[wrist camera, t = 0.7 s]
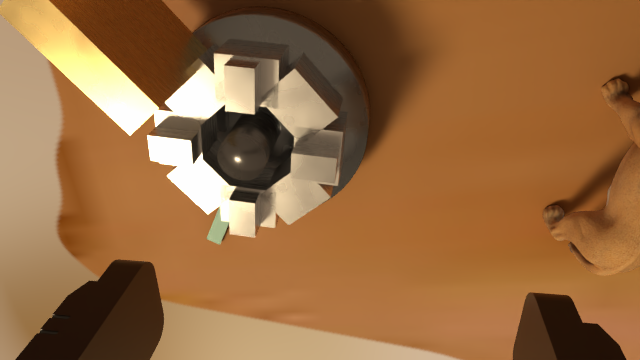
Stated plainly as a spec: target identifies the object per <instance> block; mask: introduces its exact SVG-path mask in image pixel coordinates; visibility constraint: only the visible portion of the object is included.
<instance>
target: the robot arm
mask: <svg viewBox="0 0 640 360" xmlns="http://www.w3.org/2000/svg"><path fill="white" fill-rule="evenodd" d="M163 325H164V314H163V308H162V303H161V298H160V293H159V288H158V283H157V278H156V273H155V269H154V266H153V264H152V263H151V262H144V261H131V260H115V261H113V262H112V263H111V264H110V266H109V267H108V268H107V270H106V271H105V272H104V273H103V275H102V276H101V277H100V279H99V280H98V281H88V282H87V283H86V284H84V285H83V286H81V287H80V288H78V289H77V290H75V291H74V292H73V293H71V294H70V295H68V296H67V297H66V299H65V300H64V301H63V302H62V303H61V305H60V306H59V307H58V308H57V310H56V311H55V312H54V313H53V317H52V318H49V319H48V321H47V322H46V323H45V324H44V325H43V327H42V328H41V329H40V333H39V334H36V335H35V336H34V338H33V339H32V340H31V342H29V344H28V345H27V346H26V347H25V349H24V350H23V351H22V352H21V353H20V355H19V356H18V357H17V358H16V360H150V358H151V356H152V354H153V352H154V351H155V349H156V347H157V345H158V343H159V341H160V338H161V335H162V330H163ZM513 360H626V358H625V356H624V354H623V352H622V350H621V348H620V346H619V344H618V343H616V342H615V341H614V340H613V339H612V338H611V337H610V336H609V335H608V334H607V333H606V332H605V331H604V330H603V329H602V328H601V327H600V326H599V325H598V324H592V323H582V320H581V318H580V316H579V314H578V311H577V309H576V307H575V305H574V303H573V301H572V299H571V298H570V297H569V296H567V295H556V294H543V293H529V294H528V295H527V297H526V299H525V303H524V307H523V311H522V315H521V319H520V323H519V327H518V332H517V336H516V340H515V344H514V350H513Z"/></svg>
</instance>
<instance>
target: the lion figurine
mask: <svg viewBox="0 0 640 360" xmlns="http://www.w3.org/2000/svg"><path fill="white" fill-rule="evenodd" d="M601 90H602V94H603V97H604V99H605V101H606V103H607V104H608V105H609V106H610V107H611V108H612V109H613V110H614V111H616V112H617V113H618V115H619V117H620V119H621V122H622V123H623V125H624V127H625V128H626V130H627V134H628V136H629V138H630V139H631V140H633V141H634V143H633V144H632V146H631V147H630V148H629V150H628V151H627V153H626V154H625V156H624V158H623V159H622V161H621V163H620V165H619V167H618V169H617V172H616V174H615V176H614V179H613V182H612V184H611V185H610V187H609V189H608V198H607V204H606V207H605V208H604V209H603V210H599V211H580V212H574V213H571V214H569V215H568V216H566V217H564V211H563V209H562V208H561V207H560V206H558V205H555V206H549V207H547V208H545V209H544V211H543V219H544V222H545V224H546V226H547V228H548V229H549V231H550V233H551V235H552V236H553V237H554V238H555V239H556V240H558V241H563V240H565V239H566V240H569V241H571V242H570V243H569V245H568V246H569V247H570V251H571V252H572V253H573V254H574V255H575V257H576V258H577V260H578V261H579V262H580V263H581V264H582V265H583V266H584V267H585V268H586V269H587V270H589V271H590V272H592V273H594V274H598V275H613V274H616V273H619V272H628V271H631V270H634V269H636V268H638V267H640V103H639V102H636V101H634V100H633V98H632V96H630V95H629V93H628V91H629V86H628V84H627V83H626V82H624V81H621V80H620V79H615V80H612V81H609V82H608V83H607V84H606V85H604V86H602V88H601ZM563 217H564V218H563Z"/></svg>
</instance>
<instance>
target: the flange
mask: <svg viewBox="0 0 640 360" xmlns="http://www.w3.org/2000/svg"><path fill="white" fill-rule="evenodd" d="M193 34H194V35H195V36H196V37H197V38H198V40H199V41H200V42H201V43H202V44H203V45H204V46H205V47H206V48H207V49H209V48H210V47H211V46H212V45H214V44H216V45H217V46H218V47H219V48H220V47H221V46H222V45H223V44H224V43H225V42H226V41H227V40H228V39H238V40H248V41H257V42H267V43H276V44H286V45H289V65H290V64H291V63H292V62H293V61H294V60H295V59H297V58H298V57H299V56H300V55H301V54H303V53H305V55H306V56H307V57H308V58H309V59H310V60H311V61H312V63H313V64H314V65H315V66H316V67H317V68H318V70H319V71H320V72H321V73H322V74H323V75H324V76H325V78H326V79H327V80H328V81H329V82H330V83H331V85H332V86H333V87H334V88H335V89H336V90H337V92H338V93H339V94H340V95H341V96H342V97H343V101H342V104H341V108H340V111H344V112H348V115H347V125H346V135H345V145H344V155H343V164H342V169H341V174H340V178H339V183H338V186H333V190H332V194H331V198H332V197H333V196H335V195H336V194H337V193H338V192H339V191H341V190H342V189H343V188H344V187H345V185H346V184H347V183H348V182H349V181H350V180H351V178H352V177H353V175H354V174H355V172H356V171H357V169H358V167H359V165H360V163H361V161H362V158H363V155H364V152H365V148H366V143H367V137H368V130H369V122H370V103H369V96H368V91H367V87H366V84H365V80H364V78H363V76H362V73H361V71H360V69H359V67H358V65H357V64H356V62H355V60H354V59H353V57H352V55H351V54H350V53H349V52H348V50H347V49H346V48H345V47H344V45H343V44H342V43H341V42H340V41H339V40H338V39H337V38H336V37H335V36H334V35H333V34H331V33H330V32H329V31H327V30H326V29H325V28H323V27H322V26H321V25H319V24H317V23H315V22H314V21H312V20H310V19H308V18H306V17H304V16H301V15H299V14H296V13H294V12H290V11H287V10H283V9H279V8H270V7H248V8H241V9H236V10H232V11H229V12H226V13H223V14H221V15H219V16H217V17H215V18H213V19H211V20H209V21H208V22H207V23H205V24H204V25H202V26H201V27H199V28H198V29H197V30H195V31H194V32H193ZM216 117H217V139H218V140H219V141H220V142H221V143H222V144H221V145H220V147H219V149H218V152H217V159H218V163H219V165H220V167H221V169H222V170H223V171H224V172H225V173H226V174H227V175H229V176H230V177H232V178H234V179H237V180H243V181H246V180H252V179H254V178H256V177H258V176H259V175H260V174H261V173H262V171H263V169H264V167H265V166H266V167H274V168H276V167H277V166H279V165H280V164H281V163H283V162H284V161H285V160H287V159H288V158H290V157H291V153H292V151H293V148H294V136H293V135H292V134H291V133H290V132H289V131H288V129H287V128H286V127H285V126H284V125H283V124H282V123H281V122H280V121H279V120H278V119H277V118H276V117H275V116H274V114H273V113H272V112H271V111H270V110H269V109H268V108H267V107H261V106H260V107H259V108H258V110H257V111H256V113H255V114H247V113H238V112H230V111H225V105H223V106H222V107H221V108H220V109H219V110H218V111H217V112H216ZM329 199H330V198H329ZM329 199H328V200H329ZM326 201H327V200H326ZM326 201H325V202H326ZM323 203H324V202H323Z"/></svg>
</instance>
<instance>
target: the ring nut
mask: <svg viewBox="0 0 640 360" xmlns="http://www.w3.org/2000/svg"><path fill="white" fill-rule="evenodd" d="M0 14H1V15H2V16H3V17H4V18H5V19H6V20H7V21H8V22H9V23H10V24H11V25H12V26H13V27H14V28H16V29H17V30H18V31H19V32H20V33H21V34H22V35H23V36H24V37H25V38H26V39H27V40H29V42H31V43H32V44H33V45H34V46H35V47H36V48H37V49H38V50H39V51H40V52H41V53H42V54H43V55H44V56H46V57H47V58H48V59H49V60H50V61H51V62H52V63H53V64H54V65H55V66H56V67H57V68H58V69H59V70H60V71H61V72H63V73H64V74H65V75H66V76H67V77H68V78H69V79H70V80H71V81H72V82H73V83H74V84H75V85H76V86H77V87H79V88H80V89H81V90H82V91H83V92H84V93H85V94H86V95H87V96H88V97H89V98H90V99H91V100H92V101H94V102H95V103H96V104H97V105H98V106H99V107H100V108H101V109H102V110H103V111H104V112H105V113H106V114H107V115H108V116H110V117H111V118H112V119H113V120H114V121H115V122H116V123H117V124H118V125H119V126H120V127H121V128H122V129H123V130H124V131H126V132H127V133H128V134H129V135H131V134H132V133H133V132H134V131H135V130H136V129H137V128H138V127H140V126H141V125H142V124H143V123H144V122H145V121H146V120H147V119H148V118H149V117H150V116H151V115H152V114H153V113H154V115H155V124H156V127H155V128H154V129H153V130H152V131H151V132H150V133H149V135H148V143H149V151H150V159H151V160H152V161H160V163H161V164H169V165H175V166H174V167H173V169H172V170H171V171H170V173H169V174H168V175H167V177H168V178H169V179H171V180H172V181H173V182H174V183H175V184H176V185H177V186H178V187H179V188H180V189H181V190H182V191H183V192H184V193H186V194H187V195H188V196H189V197H190V198H191V199H192V200H193V201H194V202H195V203H196V204H197V205H198V206H199V207H201V208H202V209H203V210H204V211H205V212H206V213H207V214H209V213H211V212H212V211H213V210H215V209H216V208H217V207H219V206H220V205H221V221H227V222H229V228H230V234H233V235H240V236H248V237H255V236H256V234H257V232H258V229H259V227H260V226H264V227H271V228H275V227H276V225H277V222H278V219H279V216H280V217H281V218H282V219H283V220H284V221H285V222H286V223H287V224H288V225H290V224H291V223H293V222H294V221H296V220H297V219H299V218H300V217H302V216H303V215H305V214H306V213H308V212H309V211H311V210H312V209H314V208H316V207H317V206H319V205H320V204H322V203H323V202H325V201H326V200H328V199H329V198H331V194H332V190H333V186H338V183H339V178H340V174H341V169H342V164H343V155H344V145H345V135H346V125H347V115H348V112H344V111H340V108H341V104H342V101H343V97H342V96H341V95H340V94H339V93H338V92H337V90H336V89H335V88H334V87H333V86H332V85H331V83H330V82H329V81H328V80H327V79H326V78H325V76H324V75H323V74H322V73H321V72H320V71H319V70H318V68H317V67H316V66H315V65H314V64H313V63H312V61H311V60H310V59H309V58H308V57H307V56H306V55H305V53H303V54H301V55H300V56H299V57H298V58H297V59H295V60H294V61H293V62H292V63H291V64H290V65H289V45H286V44H276V43H267V42H257V41H248V40H238V39H228V40H227V41H226V42H225V43H224V44H223V45H222V46H221V47H220V48H219V47H218V46H217V45H216V44H214V45H212V46H211V47H210V48H209V49H207V48H206V47H205V46H204V45H203V44H202V43H201V42H200V41H199V40H198V38H197V37H196V36H195V35H194V34H193V33H192V32H191V31H190V30H189V29H188V28H187V27H186V26H185V25H184V24H183V22H182V21H181V20H180V19H179V18H178V17H177V16H176V15H175V14H174V13H173V12H172V11H171V10H170V9H169V8H168V6H167V5H166V4H165V3H164V2H163V1H162V0H4V1H3V3H2V4H1V6H0ZM223 105H225V111H230V112H238V113H247V114H255V113H256V111H257V110H258V108H259V107H260V106H261V107H267V108H268V109H269V110H270V111H271V112H272V113H273V114H274V116H275V117H276V118H277V119H278V120H279V121H280V122H281V123H282V124H283V125H284V126H285V127H286V128H287V129H288V131H289V132H290V133H291V134H292V135H293V136H294V148H293V151H292V153H291V157H290V158H288V159H287V160H285V161H284V162H283V163H281V164H280V165H279V166H277V167H276V168H274V167H266V166H265V167H264V169H263V171H262V173H261V174H260V175H259V176H258V177H256V178H254V179H252V180H246V181H243V180H237V179H234V178H232V177H230V176H229V175H227V174H226V173H225V172H224V171H223V170H222V169H221V167H220V165H219V163H218V159H217V152H218V149H219V147H220V145H221V144H222V143H221V142H220V141H219V140H218V139H217V117H216V112H217V111H218V110H219V109H220V108H221V107H222V106H223Z"/></svg>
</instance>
